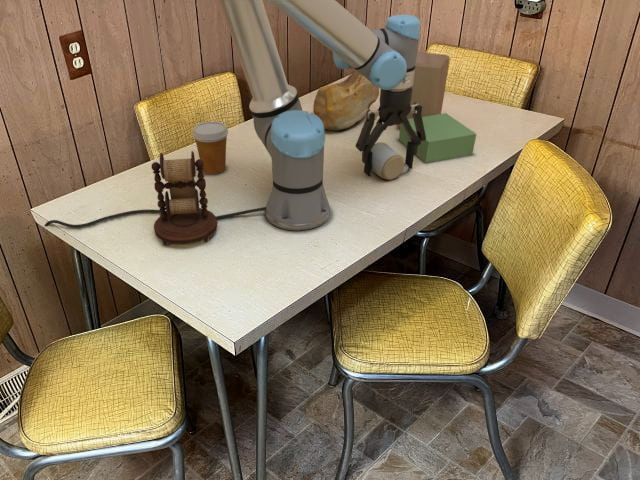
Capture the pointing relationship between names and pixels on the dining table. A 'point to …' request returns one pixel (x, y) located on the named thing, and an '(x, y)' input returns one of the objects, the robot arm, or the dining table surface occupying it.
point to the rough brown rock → (345, 102)
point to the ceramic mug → (387, 161)
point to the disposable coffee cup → (211, 145)
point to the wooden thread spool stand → (182, 202)
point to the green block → (441, 138)
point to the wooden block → (429, 83)
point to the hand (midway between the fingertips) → (387, 170)
